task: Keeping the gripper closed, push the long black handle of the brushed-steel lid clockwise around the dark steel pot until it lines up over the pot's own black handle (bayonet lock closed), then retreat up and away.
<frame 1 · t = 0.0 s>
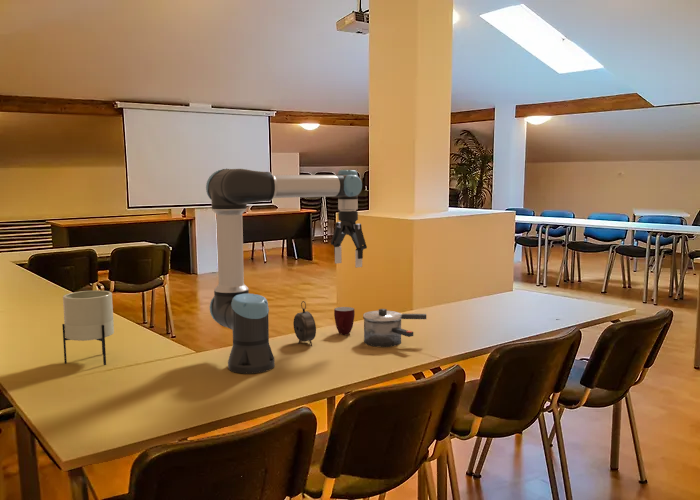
hand: (348, 265, 237), 28 cm above the table, fingers open, 13 cm apart
pot: (382, 341, 231), on the table
lid: (394, 313, 230), point 11 cm above the table, hinge at 50.0°
alarm clock: (303, 344, 229), on the table
mug: (344, 334, 243), on the table
planter: (90, 361, 208), on the table
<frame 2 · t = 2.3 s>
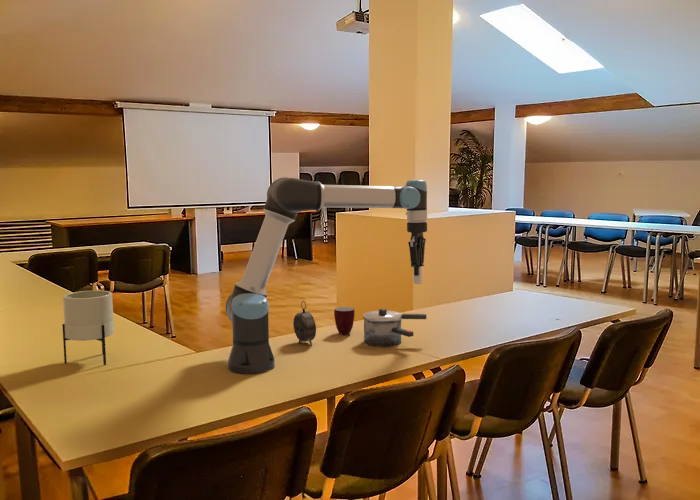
hand: (417, 283, 231), 22 cm above the table, fingers closed
nothing on the table moved.
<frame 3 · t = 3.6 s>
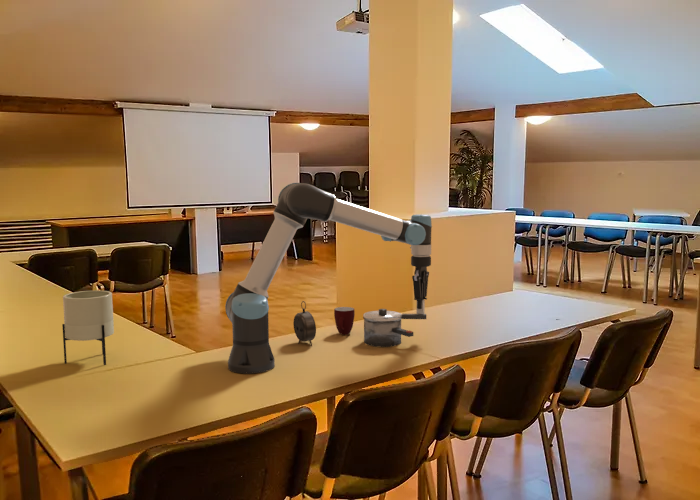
hand: (420, 316, 234), 9 cm above the table, fingers closed
nothing on the table moved.
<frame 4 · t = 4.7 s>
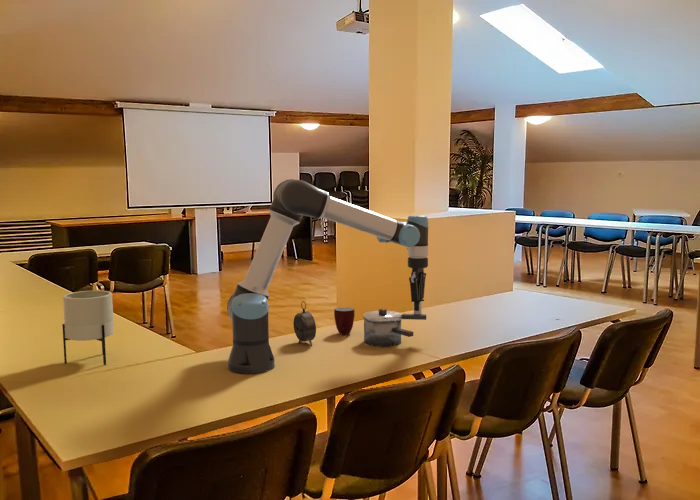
hand: (417, 318, 231), 9 cm above the table, fingers closed
lid: (394, 314, 229), point 11 cm above the table, hinge at 47.7°, touching gripper
everything else where it was.
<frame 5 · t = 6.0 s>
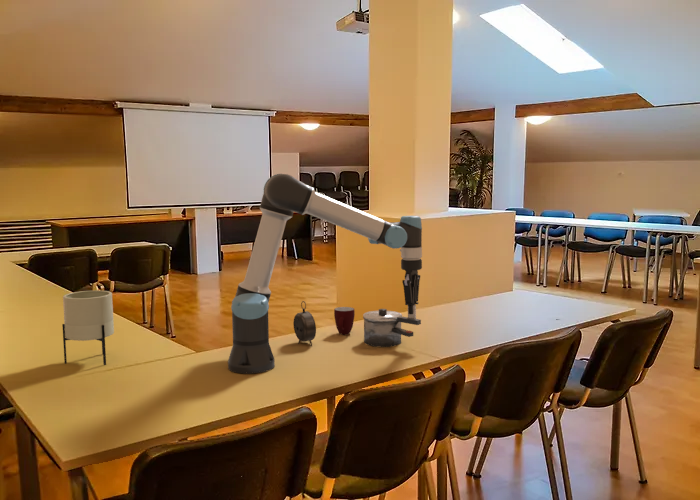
hand: (411, 322, 224), 9 cm above the table, fingers closed
lid: (392, 315, 227), point 11 cm above the table, hinge at 14.2°, touching gripper
everything else where it was.
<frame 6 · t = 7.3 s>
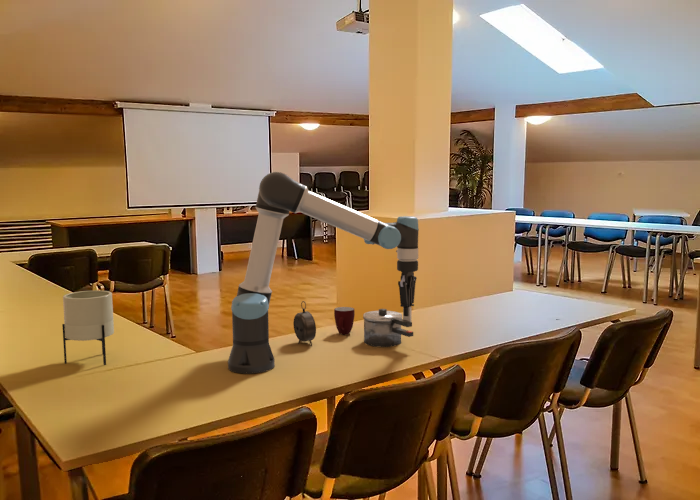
hand: (407, 324, 221), 9 cm above the table, fingers closed
lid: (389, 316, 226), point 11 cm above the table, hinge at -3.6°, touching gripper
everything else where it was.
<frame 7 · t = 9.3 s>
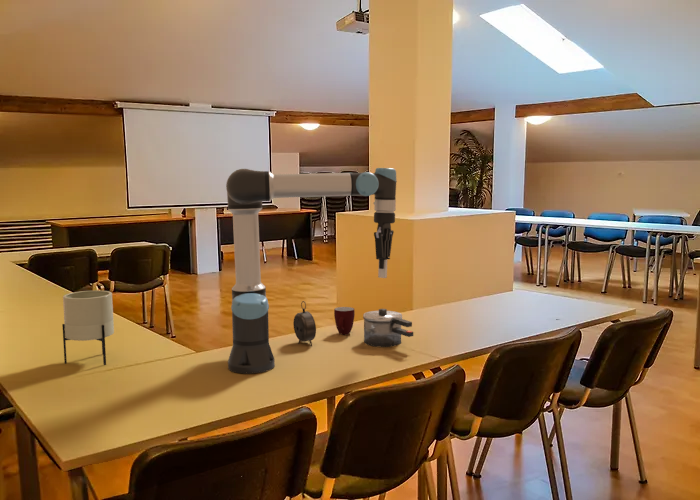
hand: (382, 277, 219), 26 cm above the table, fingers closed
lid: (389, 316, 226), point 11 cm above the table, hinge at -3.6°
everything else where it was.
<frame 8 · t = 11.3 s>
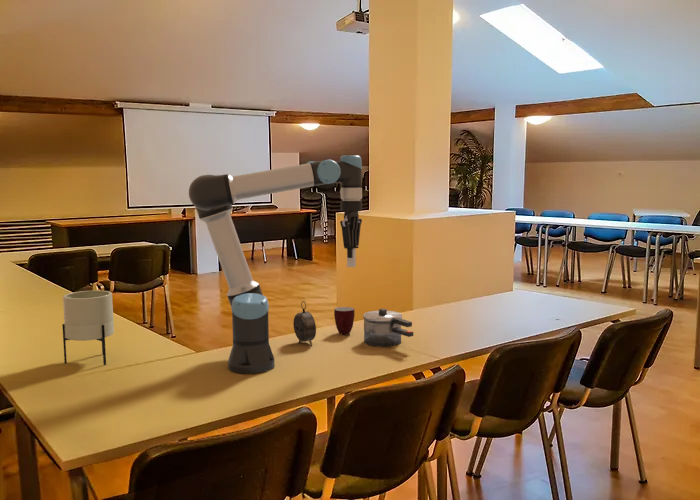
hand: (351, 266, 217), 30 cm above the table, fingers closed
nothing on the table moved.
at the end: lid at -4° (first picture: +50°) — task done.
